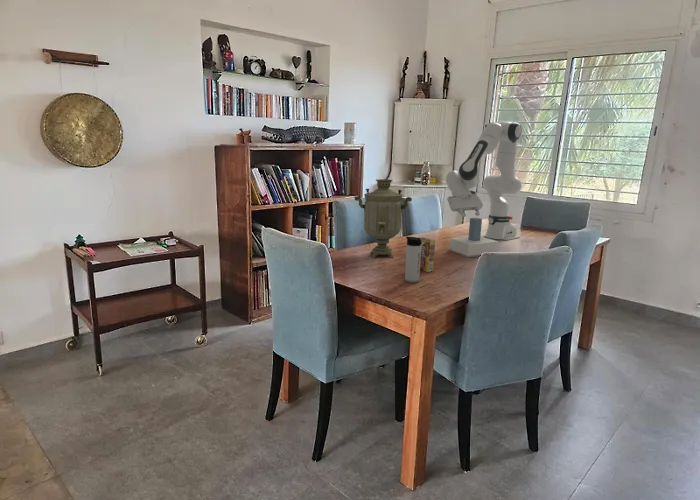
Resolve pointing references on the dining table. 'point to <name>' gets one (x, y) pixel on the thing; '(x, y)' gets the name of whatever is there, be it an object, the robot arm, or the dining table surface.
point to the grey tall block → (475, 229)
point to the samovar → (382, 215)
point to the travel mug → (413, 259)
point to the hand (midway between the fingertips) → (471, 215)
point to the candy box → (427, 254)
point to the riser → (472, 246)
